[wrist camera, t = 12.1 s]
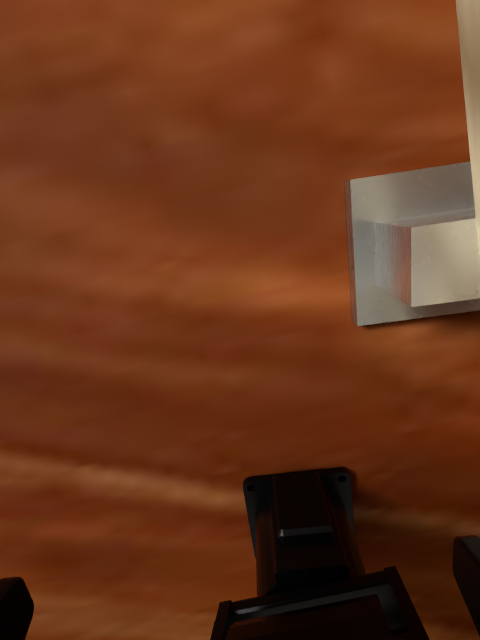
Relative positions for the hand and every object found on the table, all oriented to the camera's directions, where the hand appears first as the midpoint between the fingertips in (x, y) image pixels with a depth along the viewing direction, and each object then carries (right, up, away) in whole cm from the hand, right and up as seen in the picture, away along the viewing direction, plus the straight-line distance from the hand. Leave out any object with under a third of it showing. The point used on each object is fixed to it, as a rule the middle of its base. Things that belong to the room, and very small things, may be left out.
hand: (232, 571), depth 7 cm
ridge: (+12, +9, +10) cm, 18 cm away
